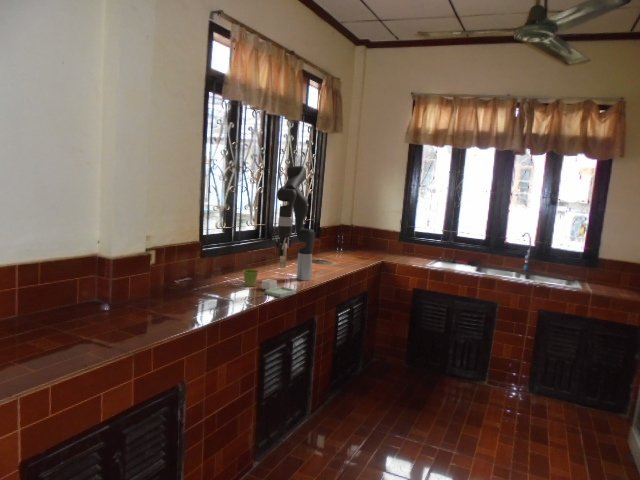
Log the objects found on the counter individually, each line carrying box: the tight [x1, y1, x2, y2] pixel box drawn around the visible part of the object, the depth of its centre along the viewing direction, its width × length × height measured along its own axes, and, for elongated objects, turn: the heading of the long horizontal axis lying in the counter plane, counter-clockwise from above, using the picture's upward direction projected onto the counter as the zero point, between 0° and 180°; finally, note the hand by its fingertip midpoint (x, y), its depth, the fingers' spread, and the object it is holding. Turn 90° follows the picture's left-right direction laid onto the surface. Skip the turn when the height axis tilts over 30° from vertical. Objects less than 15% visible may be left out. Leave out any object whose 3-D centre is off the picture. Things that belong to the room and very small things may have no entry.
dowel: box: [279, 243, 287, 269], centre depth 259 cm, size 3×3×14 cm
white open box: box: [261, 278, 278, 291], centre depth 270 cm, size 6×6×5 cm
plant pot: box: [242, 269, 259, 287], centre depth 276 cm, size 9×9×9 cm
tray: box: [264, 285, 298, 299], centre depth 262 cm, size 15×11×2 cm
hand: (283, 255), depth 259 cm, fingers closed on dowel, 3 cm apart
